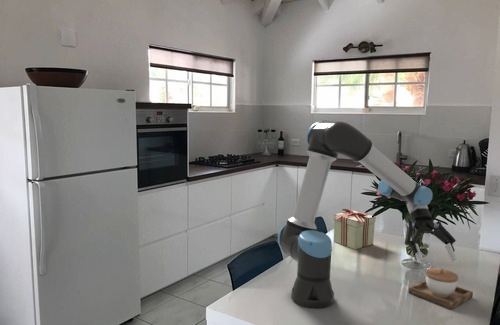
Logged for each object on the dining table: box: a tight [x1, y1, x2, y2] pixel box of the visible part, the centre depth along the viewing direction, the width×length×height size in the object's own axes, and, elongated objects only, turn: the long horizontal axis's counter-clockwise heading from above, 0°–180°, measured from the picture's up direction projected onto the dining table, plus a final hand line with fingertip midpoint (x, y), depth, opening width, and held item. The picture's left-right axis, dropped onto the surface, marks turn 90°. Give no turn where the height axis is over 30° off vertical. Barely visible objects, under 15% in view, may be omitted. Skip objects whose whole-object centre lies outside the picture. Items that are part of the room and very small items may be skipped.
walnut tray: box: [408, 279, 474, 311], centre depth 148 cm, size 16×16×2 cm
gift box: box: [333, 208, 377, 250], centre depth 204 cm, size 17×18×17 cm
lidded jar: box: [425, 267, 459, 297], centre depth 148 cm, size 11×11×9 cm
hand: (437, 260), depth 152 cm, fingers open, 13 cm apart
